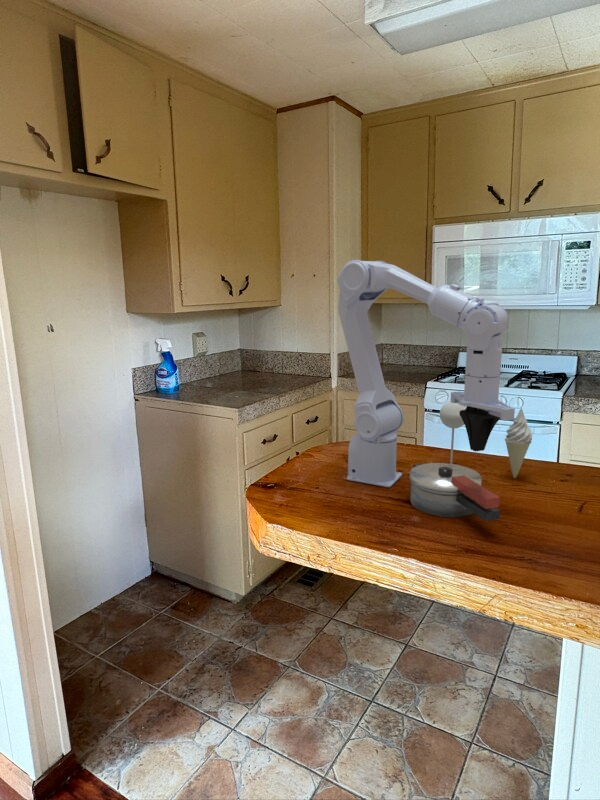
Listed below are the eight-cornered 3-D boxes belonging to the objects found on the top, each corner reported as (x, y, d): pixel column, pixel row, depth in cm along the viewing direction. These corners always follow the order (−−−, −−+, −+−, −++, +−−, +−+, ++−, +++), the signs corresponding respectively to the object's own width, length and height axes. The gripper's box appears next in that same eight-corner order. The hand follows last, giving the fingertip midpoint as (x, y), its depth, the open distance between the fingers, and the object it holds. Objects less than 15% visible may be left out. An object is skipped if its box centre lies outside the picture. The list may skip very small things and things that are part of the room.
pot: (384, 517, 91) (385, 492, 90) (415, 481, 107) (415, 460, 106) (496, 541, 83) (498, 513, 82) (511, 498, 99) (513, 475, 98)
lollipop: (433, 463, 118) (436, 398, 114) (458, 462, 118) (462, 397, 115) (442, 473, 112) (446, 404, 108) (469, 472, 112) (474, 404, 109)
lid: (398, 470, 100) (398, 460, 100) (456, 463, 104) (456, 454, 103) (457, 515, 81) (457, 503, 81) (526, 505, 85) (527, 493, 84)
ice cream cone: (530, 483, 106) (537, 410, 102) (503, 481, 107) (509, 409, 103) (525, 474, 111) (531, 404, 107) (499, 472, 112) (505, 404, 108)
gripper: (438, 370, 96) (434, 441, 99) (492, 384, 83) (486, 465, 86) (470, 367, 99) (465, 436, 102) (527, 380, 86) (520, 460, 89)
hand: (477, 449), depth 94 cm, fingers closed
